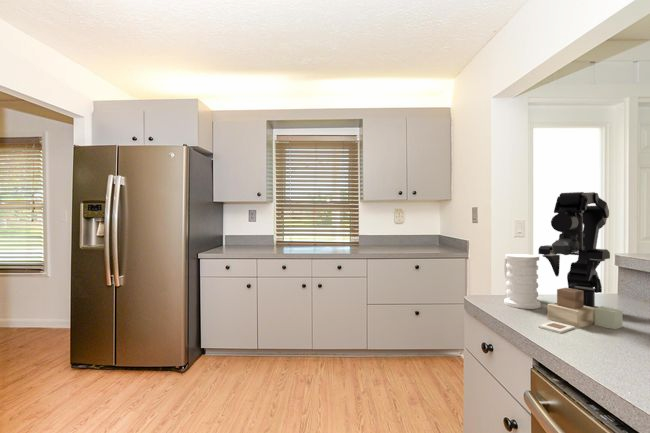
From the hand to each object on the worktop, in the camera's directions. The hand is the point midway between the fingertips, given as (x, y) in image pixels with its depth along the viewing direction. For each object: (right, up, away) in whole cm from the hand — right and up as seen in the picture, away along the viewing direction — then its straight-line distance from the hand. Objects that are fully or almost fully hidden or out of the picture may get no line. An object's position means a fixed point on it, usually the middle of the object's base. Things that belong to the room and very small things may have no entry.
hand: (572, 278), depth 115 cm
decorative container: (-9, -12, +13) cm, 20 cm away
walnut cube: (-5, -7, -6) cm, 11 cm away
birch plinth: (-5, -12, -7) cm, 15 cm away
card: (-13, -12, -12) cm, 22 cm away
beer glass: (-5, -12, +26) cm, 29 cm away
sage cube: (+3, -12, -11) cm, 17 cm away
